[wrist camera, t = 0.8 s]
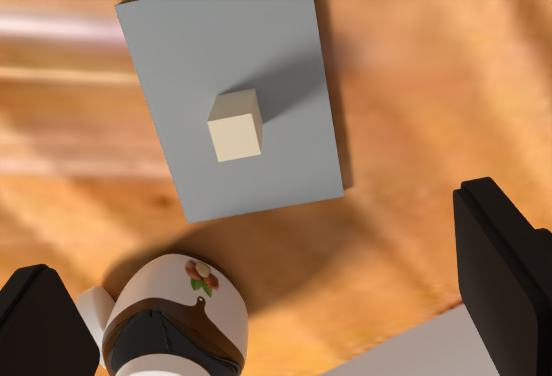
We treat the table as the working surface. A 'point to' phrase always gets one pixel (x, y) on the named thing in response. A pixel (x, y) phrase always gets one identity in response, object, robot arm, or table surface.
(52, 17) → the table surface
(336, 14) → the table surface
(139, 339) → the spread jar
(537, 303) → the robot arm
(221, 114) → the stand
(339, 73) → the table surface
